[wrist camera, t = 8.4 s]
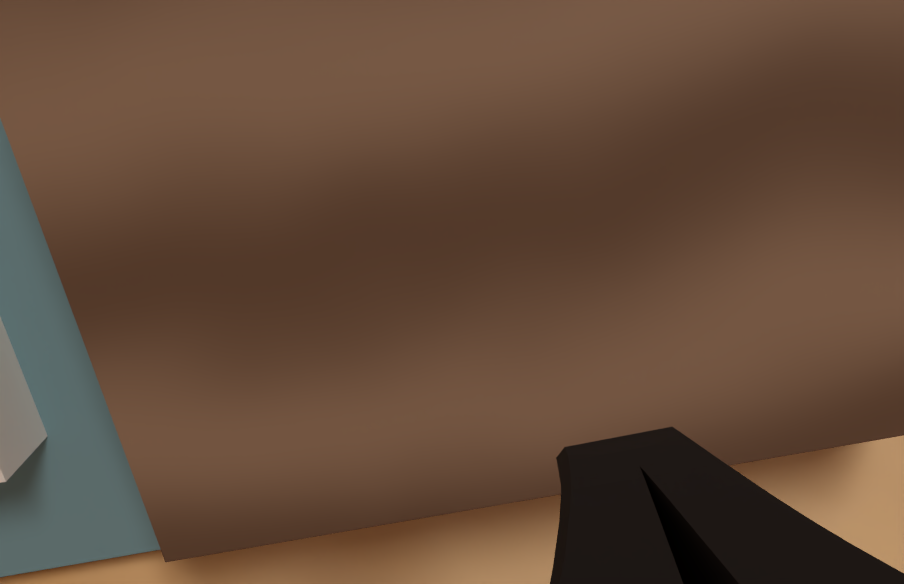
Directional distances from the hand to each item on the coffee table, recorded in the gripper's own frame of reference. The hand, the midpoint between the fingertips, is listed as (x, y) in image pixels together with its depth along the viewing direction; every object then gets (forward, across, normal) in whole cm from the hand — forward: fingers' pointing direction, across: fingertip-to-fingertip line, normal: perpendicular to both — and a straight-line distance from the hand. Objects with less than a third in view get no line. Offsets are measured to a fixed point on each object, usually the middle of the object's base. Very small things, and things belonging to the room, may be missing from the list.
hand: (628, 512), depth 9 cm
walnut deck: (+10, 0, -2) cm, 10 cm away
